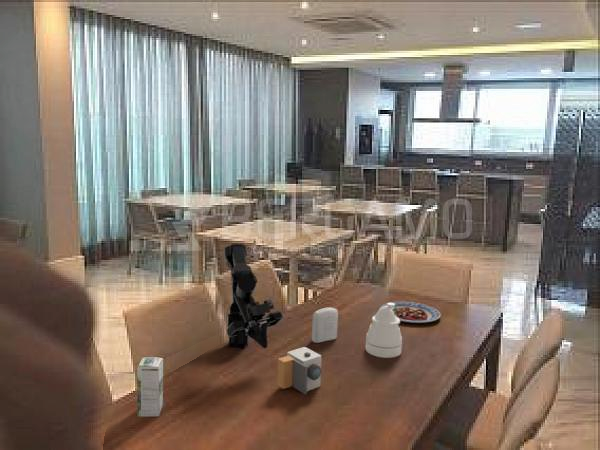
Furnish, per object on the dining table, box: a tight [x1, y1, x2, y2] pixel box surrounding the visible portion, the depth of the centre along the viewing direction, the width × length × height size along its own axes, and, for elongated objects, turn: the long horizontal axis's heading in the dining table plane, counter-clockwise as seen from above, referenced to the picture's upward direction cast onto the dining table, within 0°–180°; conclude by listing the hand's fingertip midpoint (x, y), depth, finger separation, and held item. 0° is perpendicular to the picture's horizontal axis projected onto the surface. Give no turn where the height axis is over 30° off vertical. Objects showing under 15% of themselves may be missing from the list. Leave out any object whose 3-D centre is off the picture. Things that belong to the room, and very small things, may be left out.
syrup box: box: [136, 356, 164, 418], centre depth 135 cm, size 6×6×14 cm
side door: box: [277, 355, 308, 395], centre depth 148 cm, size 9×4×8 cm, turn 39°
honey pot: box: [365, 302, 403, 359], centre depth 180 cm, size 13×13×18 cm
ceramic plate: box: [379, 301, 441, 324], centre depth 219 cm, size 26×26×3 cm
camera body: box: [286, 346, 322, 392], centre depth 153 cm, size 10×7×11 cm
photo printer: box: [311, 307, 339, 344], centre depth 188 cm, size 10×4×12 cm, turn 123°
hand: (265, 347), depth 158 cm, fingers closed
